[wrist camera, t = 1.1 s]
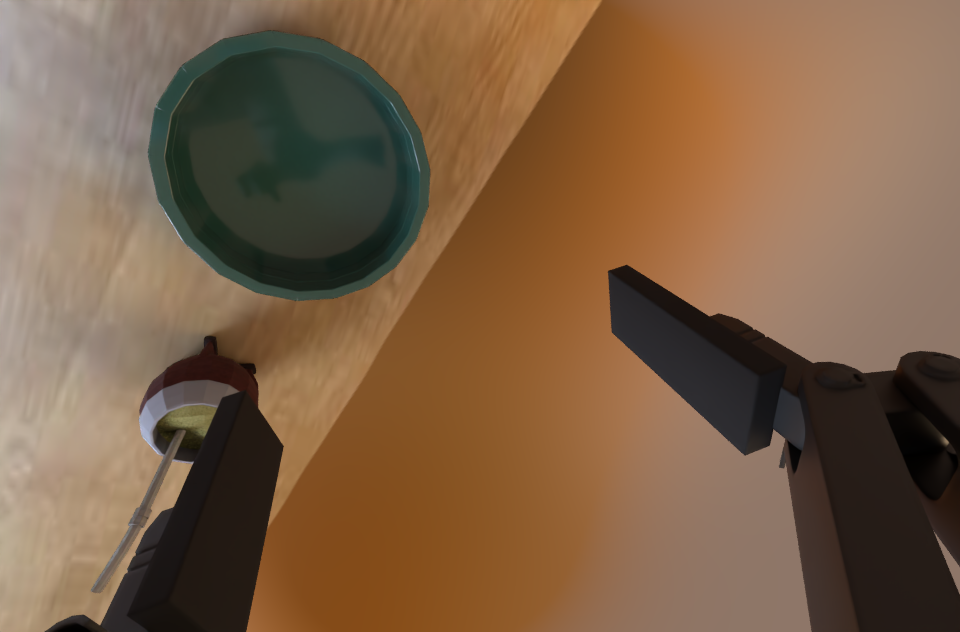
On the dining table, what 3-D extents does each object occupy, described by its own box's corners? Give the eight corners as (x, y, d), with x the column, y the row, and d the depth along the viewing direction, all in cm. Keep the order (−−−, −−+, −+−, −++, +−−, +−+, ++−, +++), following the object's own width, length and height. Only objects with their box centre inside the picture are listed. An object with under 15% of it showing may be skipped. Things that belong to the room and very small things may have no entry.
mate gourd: (260, 331, 34) (248, 461, 22) (261, 409, 37) (251, 560, 25) (147, 332, 31) (60, 485, 19) (159, 417, 34) (90, 596, 22)
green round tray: (191, -19, 24) (176, -38, 21) (444, 110, 32) (463, 112, 29) (147, 246, 29) (129, 267, 25) (378, 299, 37) (388, 320, 34)
